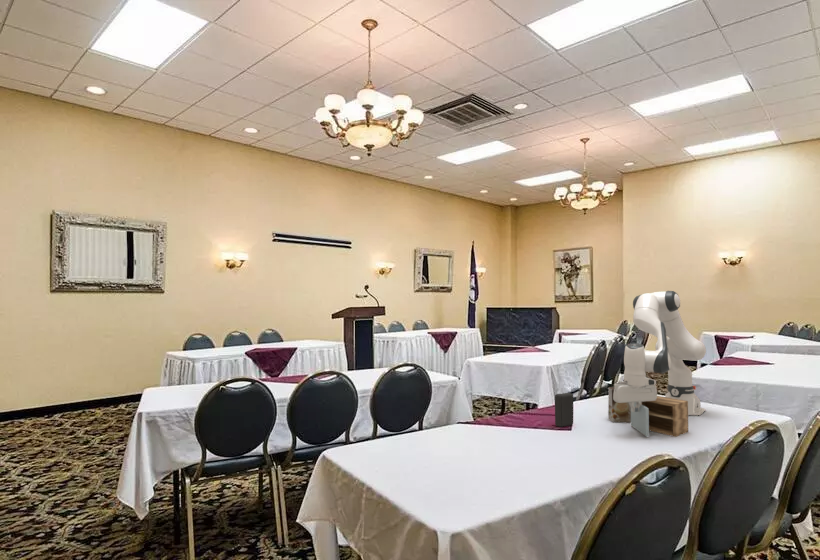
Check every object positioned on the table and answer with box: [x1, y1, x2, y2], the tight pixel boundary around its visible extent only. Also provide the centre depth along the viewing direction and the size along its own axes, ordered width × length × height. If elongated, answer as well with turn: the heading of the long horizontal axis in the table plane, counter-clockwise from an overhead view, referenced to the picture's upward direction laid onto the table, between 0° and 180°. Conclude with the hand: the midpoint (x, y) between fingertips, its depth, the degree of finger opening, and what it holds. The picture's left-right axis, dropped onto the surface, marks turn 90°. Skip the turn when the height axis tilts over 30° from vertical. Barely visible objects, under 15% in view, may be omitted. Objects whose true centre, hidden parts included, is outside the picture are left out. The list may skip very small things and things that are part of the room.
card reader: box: [554, 392, 574, 428], centre depth 233 cm, size 9×4×15 cm, turn 119°
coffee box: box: [607, 386, 631, 424], centre depth 241 cm, size 9×6×16 cm
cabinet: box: [631, 395, 689, 438], centre depth 227 cm, size 12×20×14 cm, turn 36°
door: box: [630, 402, 650, 437], centre depth 221 cm, size 1×19×12 cm, turn 175°
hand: (635, 411), depth 218 cm, fingers closed
